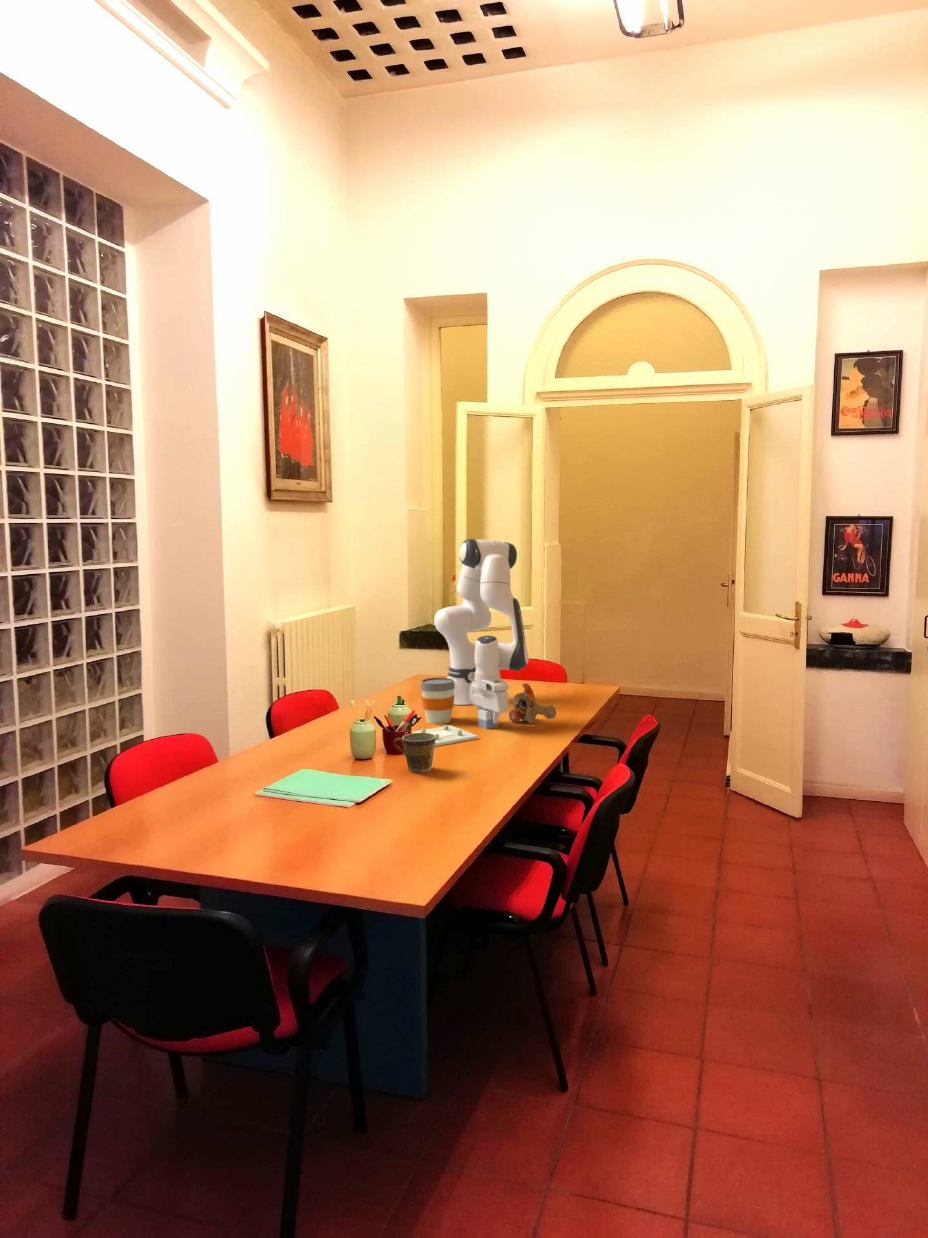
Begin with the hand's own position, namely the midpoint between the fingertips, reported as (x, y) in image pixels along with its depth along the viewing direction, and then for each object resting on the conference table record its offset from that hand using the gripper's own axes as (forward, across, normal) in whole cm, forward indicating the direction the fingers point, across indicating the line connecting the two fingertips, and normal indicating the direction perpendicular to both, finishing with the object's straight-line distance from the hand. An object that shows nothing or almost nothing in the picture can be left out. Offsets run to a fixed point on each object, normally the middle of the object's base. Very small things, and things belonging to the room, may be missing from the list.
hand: (488, 720), depth 310 cm
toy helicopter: (+2, +6, +15) cm, 16 cm away
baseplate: (+2, +3, -21) cm, 21 cm away
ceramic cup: (+2, +31, -46) cm, 56 cm away
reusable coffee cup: (+2, -18, -10) cm, 21 cm away
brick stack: (+2, 0, 0) cm, 2 cm away
